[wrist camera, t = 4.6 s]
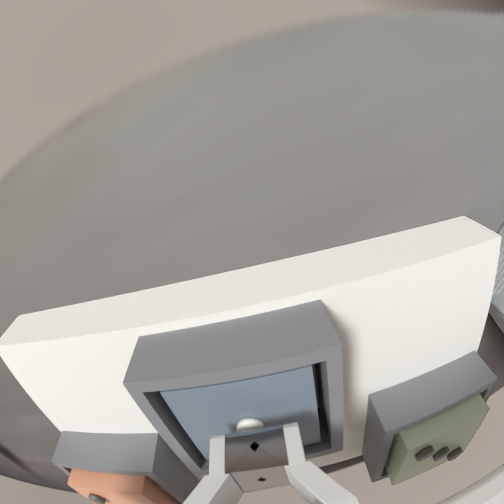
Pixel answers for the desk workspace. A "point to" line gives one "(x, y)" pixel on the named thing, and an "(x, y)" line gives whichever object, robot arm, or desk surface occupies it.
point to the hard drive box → (499, 288)
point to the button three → (434, 440)
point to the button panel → (268, 350)
